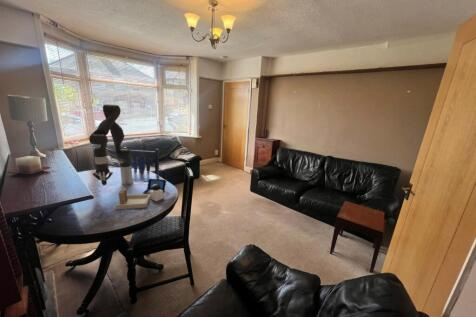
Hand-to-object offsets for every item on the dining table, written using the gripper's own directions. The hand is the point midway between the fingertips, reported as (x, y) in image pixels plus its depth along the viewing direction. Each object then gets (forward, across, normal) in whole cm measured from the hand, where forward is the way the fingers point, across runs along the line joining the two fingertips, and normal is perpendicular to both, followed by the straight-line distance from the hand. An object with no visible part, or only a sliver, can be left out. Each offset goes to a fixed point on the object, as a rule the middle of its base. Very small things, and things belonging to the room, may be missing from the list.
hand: (104, 184), depth 147 cm
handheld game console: (+16, -31, -19) cm, 40 cm away
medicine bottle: (+16, -35, -5) cm, 39 cm away
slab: (+15, -12, 0) cm, 19 cm away
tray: (+16, -19, 0) cm, 24 cm away
